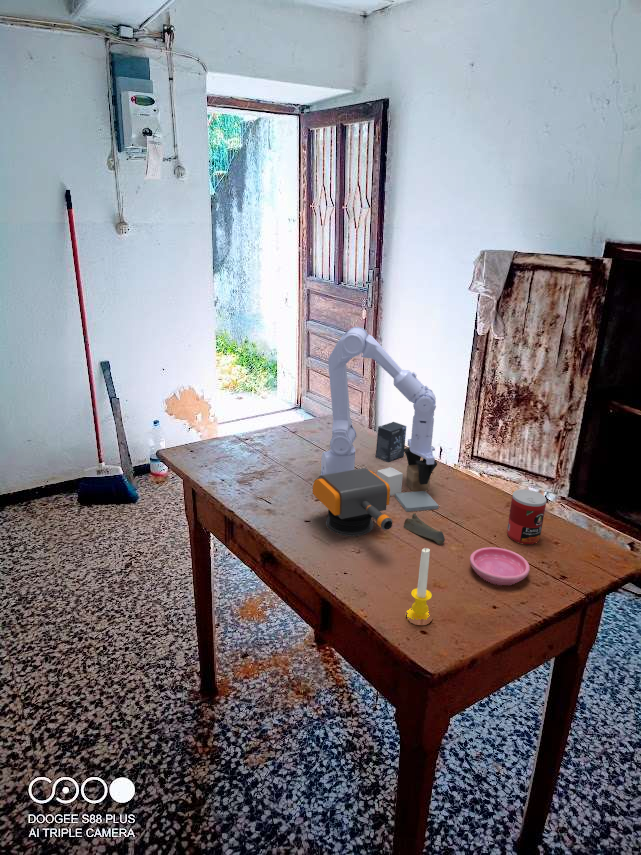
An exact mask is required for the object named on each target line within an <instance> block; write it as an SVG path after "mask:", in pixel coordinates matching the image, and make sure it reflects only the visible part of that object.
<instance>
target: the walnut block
mask: <svg viewBox="0 0 641 855" xmlns="http://www.w3.org/2000/svg"><path fill="white" fill-rule="evenodd" d="M430 480H431V477H430V478H429V481H428V483H427V484H422V485H421V484H420V483H419V470H418V466H417V465H408V464H407V466H406V480H405V486H406V487H407V488H408V489H409V490H410V492H416V491H426V492H428V491H429V490H430V482H431V481H430Z"/></svg>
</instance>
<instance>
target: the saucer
mask: <svg viewBox="0 0 641 855" xmlns="http://www.w3.org/2000/svg"><path fill="white" fill-rule="evenodd" d="M469 563H470V566H471V567H472V569H473V571H474V572H475V573H476V574H477V576H478V575H479V576H480V577H479V576H478V577H479V578H481V579H482V578H483V579H484V581H485V580H486V581H485V582H487V581H488V582H487V583H489V582H490V584H492V583H493V584H492V585H496V584H497V586H502V585H508V586H512V584H513V585H515V583H516V584H517V583H519V582H521V581H522V580H524V579H526V577H528V575H529V572H530V568H531V567H530V564H529V562H528V561H527V560H526V558H524V557H523V556H522V555H520V554H519V553H517V552H514V551H512V550H510V549H506V548H502V547H495V546H492V547H491V546H490V547H489V546H488V547H482V548H478V549H476V550H474V551H473V552H472V553H471V554H470V556H469ZM483 579H482V580H483Z"/></svg>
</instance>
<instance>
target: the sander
mask: <svg viewBox="0 0 641 855" xmlns="http://www.w3.org/2000/svg"><path fill="white" fill-rule="evenodd" d="M312 494H313V495H314V497H316V498H317V499H318V501H320V502H321V504H322V505H324V506H325V507H326V509H327V515H328V516H327V517H326V521H325V526H326V528H327V527H328V528H329V529H330V530H331V532H332V531H333V532H332V533H334V532H335V533H334V534H336V533H337V534H336V535H339V534H340V536H344V535H345V536H344V537H359V536H364V535H367V534H369V533H371V532H372V530H373V529H374V525H375V524H374V520H375V522H376V524H377V526H379V527H380V529H382V530H384V531H387V530H390V529H391V528H392V526H393V519H392V518H391V517H389V515H388V514H385V513H382V512H383V511H386V510H387V506H390V497H391V496H390V487H389V484H388V483H386V482H385V481H384V480H382V479H381V478H380V477H379V476H377V473H375V472H374V471H373V470H370V469H368V468H365V467H363V468H357V469H354V470H350V471H344V472H338V473H332V474H326V475H319V476H318V478H317V479H315V480H314V482H313V484H312ZM372 518H373V519H374V520H373V519H372ZM328 528H327V529H328ZM329 529H328V530H329ZM330 530H329V531H330Z"/></svg>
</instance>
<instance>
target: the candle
mask: <svg viewBox="0 0 641 855" xmlns="http://www.w3.org/2000/svg"><path fill="white" fill-rule="evenodd" d="M430 552H431V549H430V548H427V547H424V548H422V549H421V553H420V559H419V560H420V561H419V570H418V577H417V578H418V581H417V587H415V588H413V589H412V591H411V592H410V594H411V597H413V599H414V602H413V603H412V604H411V608H409V610H408V609H407V610H406V612H407V613H408V614H407V617H409V618H411V619H413V620H414V618H415V619H416V620H418V619H420V620H421V619H424V620H425V619H426V620H427V618H428V617H429V616H430V615H429V613H428V612H429V610H430V609H429V605H428V602H427V601H429V600H431V599H432V596H433V594H432V592H431V591H430V590H428V589H427V588H428V577H429V576H428V575H429V565H430ZM411 609H412V610H411ZM428 615H429V616H428ZM412 617H413V618H412ZM409 618H408V619H409ZM417 618H418V619H417Z"/></svg>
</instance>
